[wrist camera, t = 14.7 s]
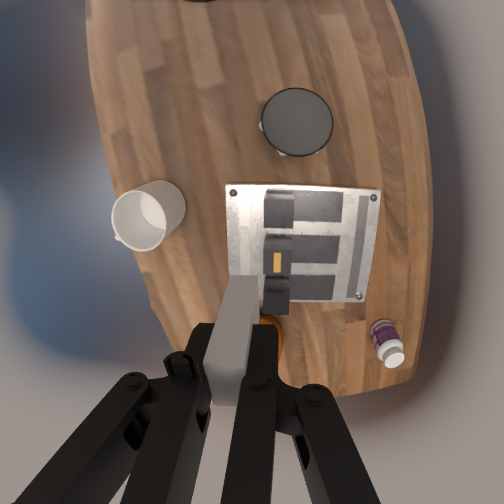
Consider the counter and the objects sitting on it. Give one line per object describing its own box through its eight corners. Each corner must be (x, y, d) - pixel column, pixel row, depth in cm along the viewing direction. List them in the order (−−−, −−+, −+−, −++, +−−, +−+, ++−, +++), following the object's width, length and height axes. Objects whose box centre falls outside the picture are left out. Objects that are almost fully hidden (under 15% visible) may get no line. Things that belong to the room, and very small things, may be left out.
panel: (227, 183, 44) (218, 191, 37) (376, 188, 42) (393, 198, 35) (232, 293, 51) (225, 317, 45) (361, 296, 49) (371, 319, 43)
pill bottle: (364, 327, 52) (376, 360, 43) (387, 313, 51) (402, 344, 42) (374, 342, 54) (386, 374, 45) (396, 330, 52) (411, 360, 43)
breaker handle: (264, 236, 44) (263, 249, 39) (290, 237, 44) (292, 250, 39) (264, 260, 46) (263, 275, 41) (289, 260, 45) (290, 275, 41)
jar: (304, 163, 41) (314, 172, 30) (255, 141, 41) (247, 142, 30) (328, 113, 38) (347, 104, 27) (279, 90, 37) (280, 73, 26)
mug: (175, 171, 44) (151, 180, 35) (194, 222, 47) (176, 241, 38) (118, 196, 46) (89, 210, 37) (137, 241, 49) (112, 262, 41)
